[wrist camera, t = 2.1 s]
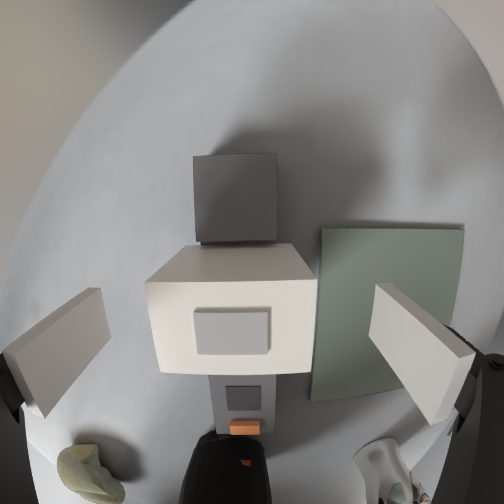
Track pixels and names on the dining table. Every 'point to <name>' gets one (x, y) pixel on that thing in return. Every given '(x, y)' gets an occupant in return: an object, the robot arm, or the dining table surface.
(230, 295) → the block
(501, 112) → the dining table surface
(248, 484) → the portable speaker
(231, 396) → the power strip
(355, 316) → the mat
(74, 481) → the seashell
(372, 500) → the beer glass
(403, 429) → the dining table surface
